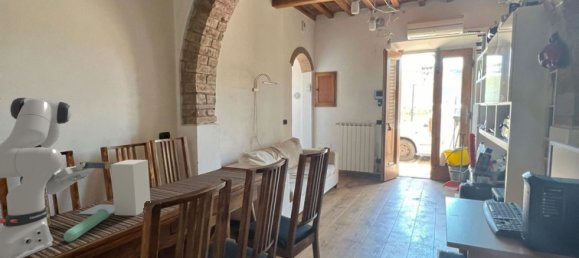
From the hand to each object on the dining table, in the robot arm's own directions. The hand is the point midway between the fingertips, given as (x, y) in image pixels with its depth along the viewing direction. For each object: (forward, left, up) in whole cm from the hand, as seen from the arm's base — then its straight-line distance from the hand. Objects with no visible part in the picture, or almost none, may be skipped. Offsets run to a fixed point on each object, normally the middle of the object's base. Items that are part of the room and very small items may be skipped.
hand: (88, 163), depth 158 cm
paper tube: (-23, +6, -25) cm, 35 cm away
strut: (0, -6, -2) cm, 7 cm away
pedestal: (0, -24, -25) cm, 35 cm away
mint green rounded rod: (-24, -19, -26) cm, 40 cm away
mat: (0, -7, -25) cm, 26 cm away
